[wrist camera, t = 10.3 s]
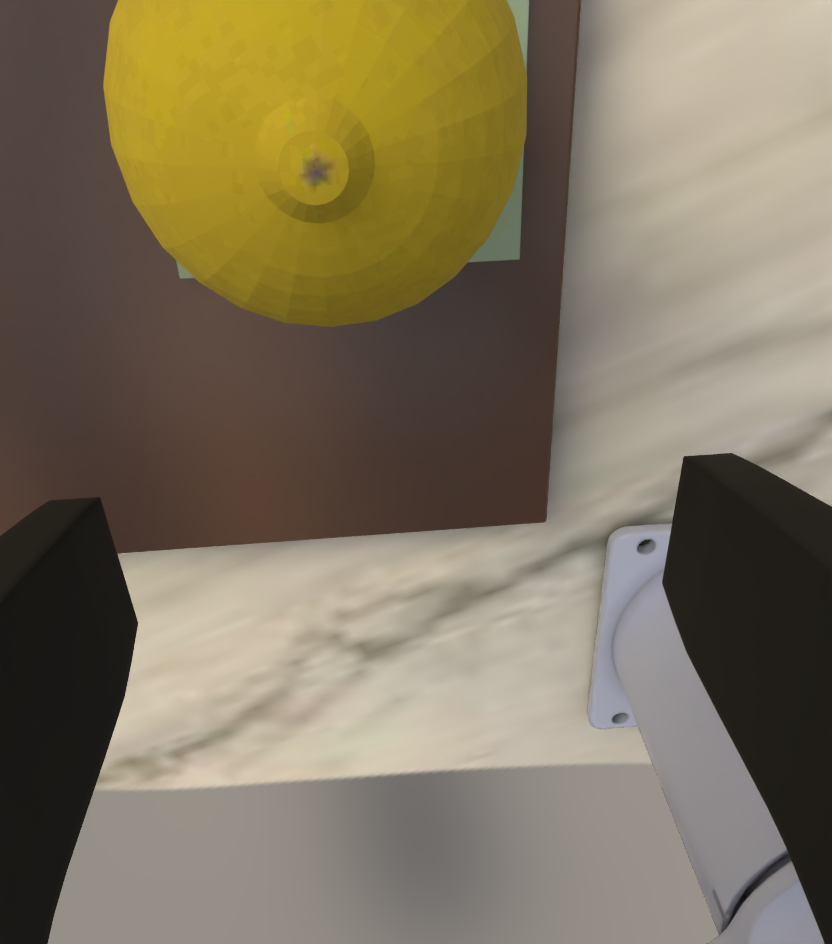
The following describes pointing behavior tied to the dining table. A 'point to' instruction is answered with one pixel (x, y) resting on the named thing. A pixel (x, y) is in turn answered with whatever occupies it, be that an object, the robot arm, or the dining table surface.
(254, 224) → the lemon
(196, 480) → the board
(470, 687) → the dining table surface
